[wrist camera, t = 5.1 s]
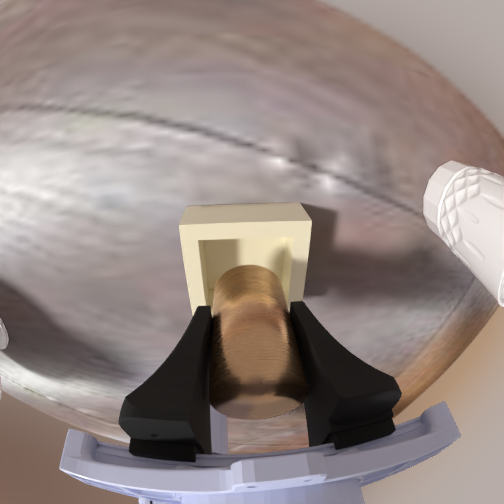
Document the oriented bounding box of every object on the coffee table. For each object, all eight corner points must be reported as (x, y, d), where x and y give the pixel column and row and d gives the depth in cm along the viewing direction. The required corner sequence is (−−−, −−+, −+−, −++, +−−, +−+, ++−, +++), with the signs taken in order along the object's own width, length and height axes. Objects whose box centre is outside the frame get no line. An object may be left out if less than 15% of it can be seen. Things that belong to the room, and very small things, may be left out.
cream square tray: (292, 292, 22) (299, 318, 19) (197, 296, 21) (194, 323, 19) (299, 203, 18) (311, 220, 15) (186, 206, 17) (178, 225, 15)
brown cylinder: (284, 313, 17) (307, 411, 11) (221, 322, 17) (221, 423, 11) (279, 259, 15) (309, 364, 9) (206, 270, 15) (196, 379, 9)
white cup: (414, 158, 17) (517, 212, 8) (476, 149, 16) (563, 191, 7) (415, 248, 21) (484, 324, 12) (472, 227, 20) (539, 284, 11)
